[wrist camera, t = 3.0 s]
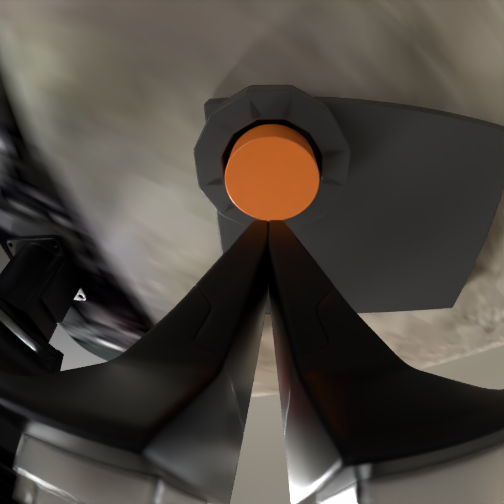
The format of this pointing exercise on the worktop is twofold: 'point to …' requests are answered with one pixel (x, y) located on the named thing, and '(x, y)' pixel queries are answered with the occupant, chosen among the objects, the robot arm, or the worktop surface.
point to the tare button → (272, 173)
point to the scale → (371, 191)
